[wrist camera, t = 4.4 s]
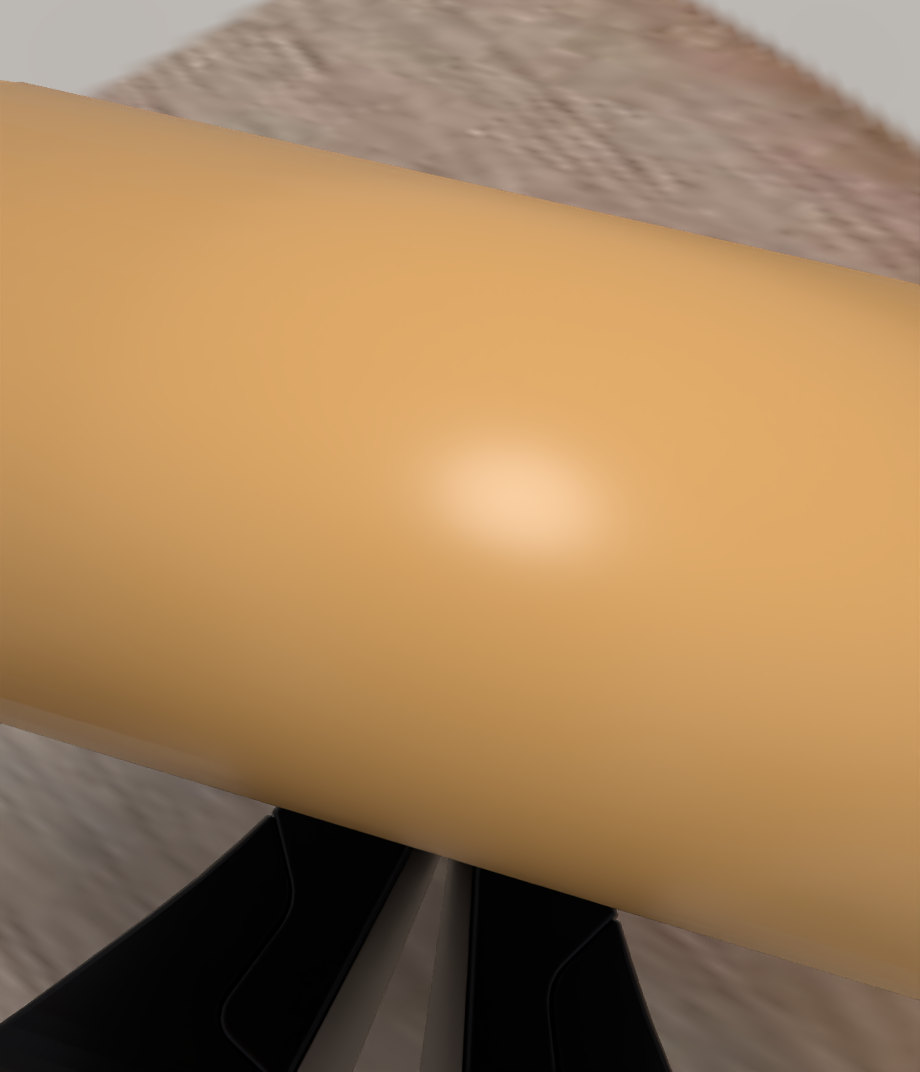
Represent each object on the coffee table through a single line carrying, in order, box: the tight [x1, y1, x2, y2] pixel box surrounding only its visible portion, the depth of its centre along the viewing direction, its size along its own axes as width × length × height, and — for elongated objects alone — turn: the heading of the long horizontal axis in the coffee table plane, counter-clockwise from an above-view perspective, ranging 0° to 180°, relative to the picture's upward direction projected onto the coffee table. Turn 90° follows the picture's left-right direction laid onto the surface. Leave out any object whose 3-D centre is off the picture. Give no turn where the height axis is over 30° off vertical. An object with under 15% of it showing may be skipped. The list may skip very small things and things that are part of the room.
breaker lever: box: [0, 81, 920, 1000], centre depth 9 cm, size 3×7×14 cm, turn 75°
